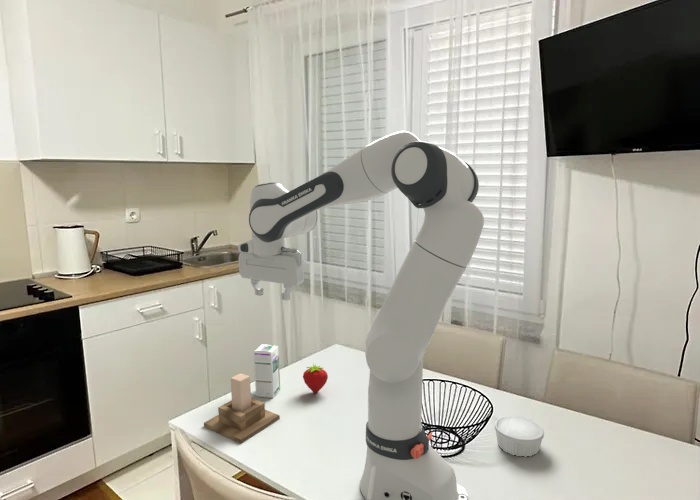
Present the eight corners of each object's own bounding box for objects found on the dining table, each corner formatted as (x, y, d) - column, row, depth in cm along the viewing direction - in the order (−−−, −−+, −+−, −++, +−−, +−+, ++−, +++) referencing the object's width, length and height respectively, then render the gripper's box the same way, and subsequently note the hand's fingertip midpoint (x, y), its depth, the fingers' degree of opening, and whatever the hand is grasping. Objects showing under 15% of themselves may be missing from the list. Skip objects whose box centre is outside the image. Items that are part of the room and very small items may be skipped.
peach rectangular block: (251, 418, 126) (250, 376, 124) (241, 424, 123) (240, 381, 121) (242, 414, 128) (240, 373, 126) (232, 420, 125) (230, 377, 123)
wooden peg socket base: (279, 418, 128) (279, 401, 127) (241, 443, 116) (240, 424, 116) (243, 404, 136) (242, 388, 135) (203, 426, 124) (202, 408, 123)
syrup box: (273, 398, 139) (272, 352, 137) (255, 396, 140) (253, 350, 138) (280, 389, 145) (279, 344, 142) (262, 387, 146) (260, 343, 143)
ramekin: (486, 435, 120) (487, 415, 119) (529, 432, 121) (530, 413, 120) (505, 462, 109) (506, 441, 108) (551, 459, 110) (552, 438, 109)
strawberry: (326, 398, 139) (326, 366, 137) (301, 397, 140) (300, 365, 138) (329, 389, 145) (329, 358, 143) (305, 387, 146) (304, 357, 144)
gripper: (308, 246, 119) (310, 299, 122) (250, 241, 130) (253, 290, 133) (292, 250, 114) (295, 305, 116) (233, 245, 125) (236, 295, 128)
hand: (272, 297), depth 125 cm, fingers open, 8 cm apart
